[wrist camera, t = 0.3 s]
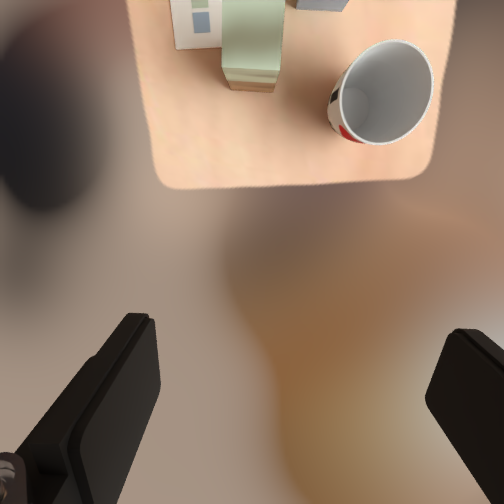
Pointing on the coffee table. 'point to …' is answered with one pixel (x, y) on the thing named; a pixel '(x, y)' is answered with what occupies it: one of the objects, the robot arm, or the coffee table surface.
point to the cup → (382, 94)
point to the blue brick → (321, 5)
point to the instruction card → (197, 23)
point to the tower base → (252, 43)
